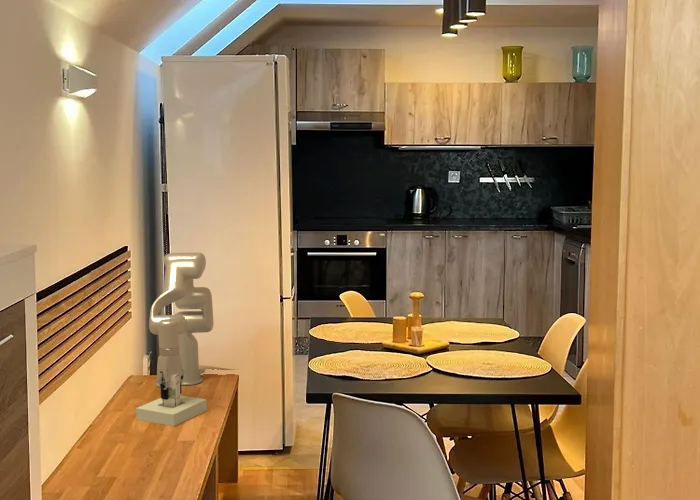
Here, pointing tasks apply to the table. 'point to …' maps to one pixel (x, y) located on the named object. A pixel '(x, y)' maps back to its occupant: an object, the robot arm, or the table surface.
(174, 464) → the table surface
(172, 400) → the syrup box
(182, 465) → the table surface
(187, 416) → the socket holder
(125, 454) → the table surface
